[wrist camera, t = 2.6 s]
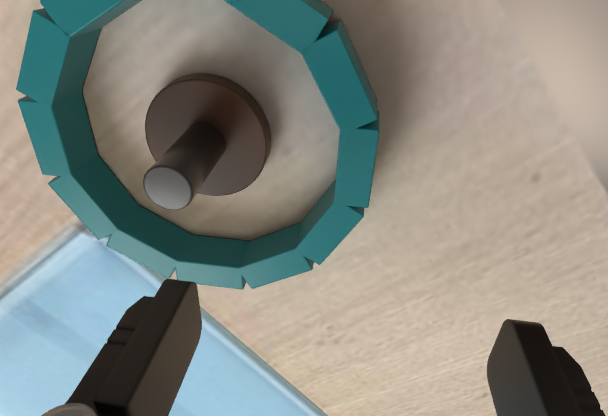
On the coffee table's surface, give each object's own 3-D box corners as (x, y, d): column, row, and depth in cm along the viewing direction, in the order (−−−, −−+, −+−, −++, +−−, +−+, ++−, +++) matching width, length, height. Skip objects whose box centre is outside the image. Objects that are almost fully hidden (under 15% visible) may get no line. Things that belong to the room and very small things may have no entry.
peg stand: (203, 44, 19) (149, 79, 14) (296, 141, 21) (274, 199, 16) (130, 127, 21) (65, 178, 17) (218, 206, 23) (180, 271, 19)
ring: (109, -153, 15) (70, -167, 13) (449, 93, 18) (458, 112, 16) (26, 166, 24) (-6, 187, 22) (270, 299, 27) (262, 329, 25)
